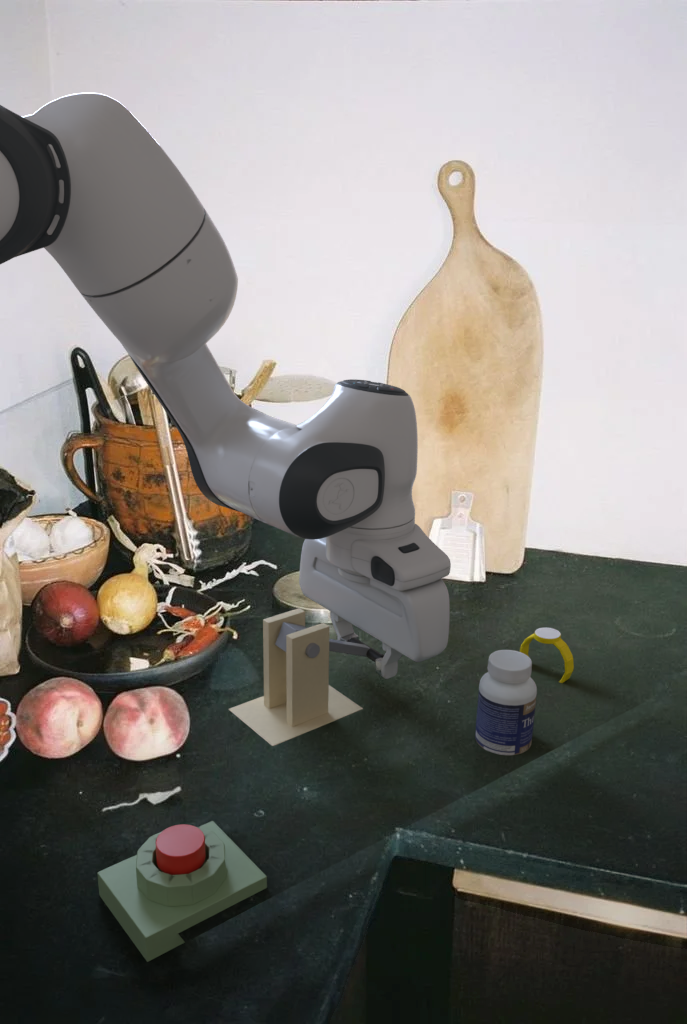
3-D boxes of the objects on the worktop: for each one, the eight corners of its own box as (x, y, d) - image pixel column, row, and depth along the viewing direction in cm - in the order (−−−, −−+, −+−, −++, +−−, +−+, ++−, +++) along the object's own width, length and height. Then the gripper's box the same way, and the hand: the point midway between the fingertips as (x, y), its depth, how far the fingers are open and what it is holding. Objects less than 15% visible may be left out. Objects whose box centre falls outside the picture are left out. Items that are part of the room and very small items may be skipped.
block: (147, 962, 65) (144, 917, 64) (99, 895, 71) (95, 852, 70) (267, 899, 71) (267, 856, 70) (213, 842, 77) (212, 801, 76)
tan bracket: (316, 685, 100) (317, 594, 97) (363, 718, 95) (366, 622, 91) (228, 719, 94) (225, 622, 90) (272, 757, 88) (271, 655, 84)
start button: (171, 883, 67) (169, 863, 67) (148, 855, 70) (146, 836, 69) (214, 862, 70) (213, 843, 69) (190, 836, 72) (189, 817, 72)
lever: (351, 652, 100) (359, 632, 100) (381, 671, 97) (390, 650, 96) (266, 639, 92) (275, 616, 92) (295, 659, 88) (304, 635, 88)
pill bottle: (529, 769, 87) (538, 677, 84) (471, 760, 88) (478, 669, 85) (532, 737, 92) (541, 649, 89) (477, 729, 93) (484, 642, 90)
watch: (575, 687, 101) (580, 638, 99) (561, 696, 99) (567, 647, 97) (527, 667, 105) (532, 619, 103) (513, 676, 103) (518, 628, 101)
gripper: (284, 517, 99) (285, 633, 104) (413, 582, 84) (408, 714, 89) (332, 505, 103) (331, 618, 108) (463, 565, 88) (455, 693, 93)
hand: (366, 662), depth 98 cm, fingers closed on lever, 5 cm apart
